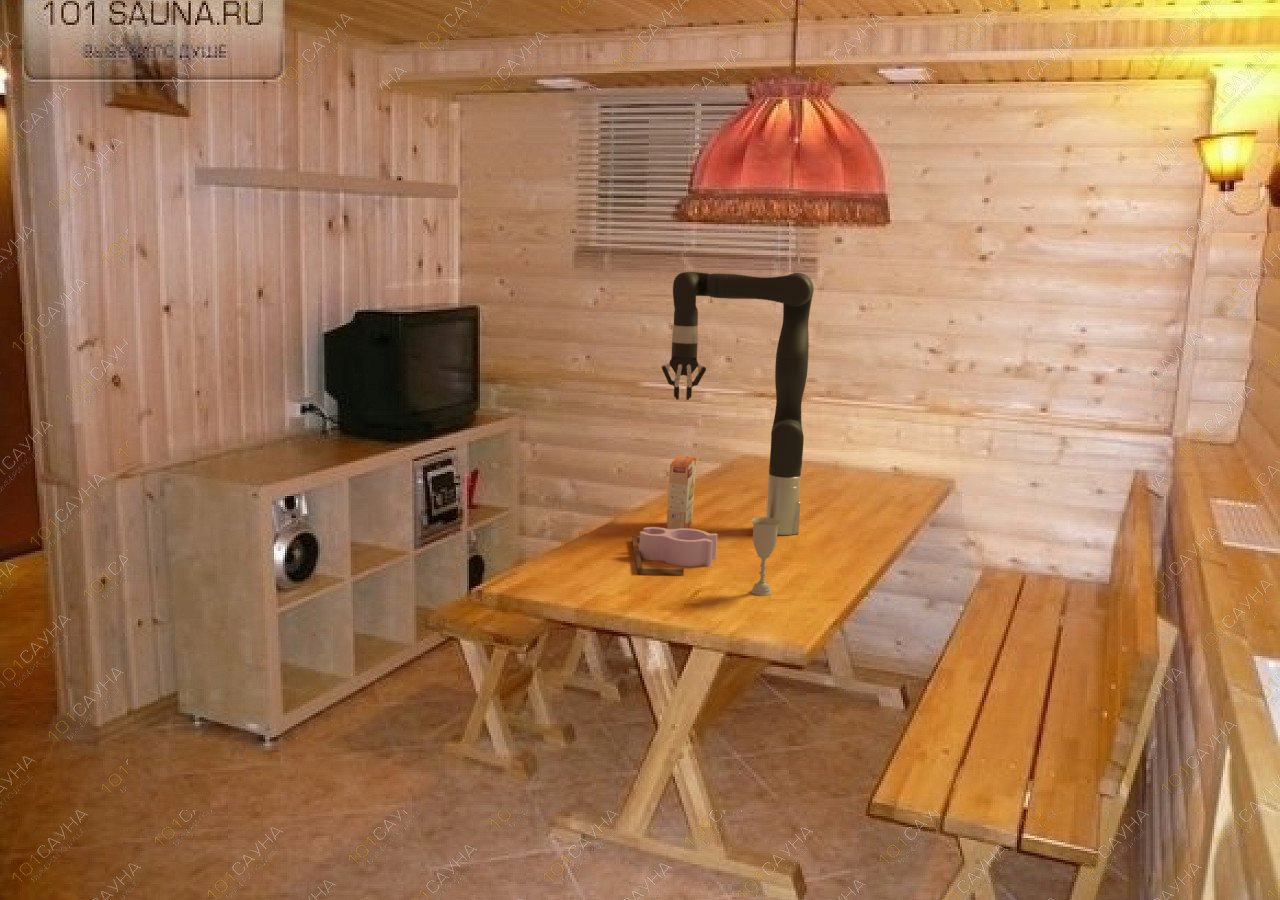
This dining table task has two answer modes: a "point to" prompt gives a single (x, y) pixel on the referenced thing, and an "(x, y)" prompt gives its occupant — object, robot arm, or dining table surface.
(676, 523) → the cracker box
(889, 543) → the dining table surface
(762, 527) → the chalice
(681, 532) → the clip
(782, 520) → the robot arm
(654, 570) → the walnut frame
